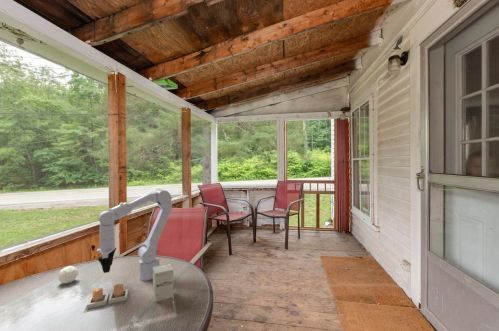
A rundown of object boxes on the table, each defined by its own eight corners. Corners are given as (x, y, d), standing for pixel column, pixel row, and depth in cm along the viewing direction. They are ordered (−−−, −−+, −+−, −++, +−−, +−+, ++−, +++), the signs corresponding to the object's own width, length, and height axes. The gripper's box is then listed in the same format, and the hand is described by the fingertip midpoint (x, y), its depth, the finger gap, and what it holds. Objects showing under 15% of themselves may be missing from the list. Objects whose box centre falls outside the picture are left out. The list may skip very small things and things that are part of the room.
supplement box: (154, 305, 94) (154, 273, 94) (153, 296, 101) (152, 266, 101) (174, 300, 97) (173, 269, 97) (171, 291, 104) (170, 262, 104)
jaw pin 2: (123, 294, 100) (123, 283, 100) (123, 299, 97) (122, 286, 97) (114, 296, 99) (114, 284, 99) (113, 301, 96) (113, 288, 96)
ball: (64, 288, 115) (59, 272, 117) (83, 278, 119) (77, 263, 121) (57, 287, 108) (52, 270, 111) (77, 276, 112) (72, 261, 115)
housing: (130, 292, 104) (130, 286, 104) (128, 305, 94) (128, 298, 94) (89, 300, 98) (89, 294, 98) (83, 315, 88) (83, 308, 88)
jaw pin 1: (103, 299, 97) (103, 286, 97) (102, 303, 94) (101, 290, 94) (93, 301, 96) (93, 288, 96) (91, 305, 93) (91, 292, 93)
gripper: (99, 235, 111) (100, 264, 111) (93, 244, 98) (94, 277, 98) (116, 233, 114) (117, 261, 114) (113, 241, 100) (113, 274, 100)
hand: (107, 268), depth 106 cm, fingers open, 7 cm apart
